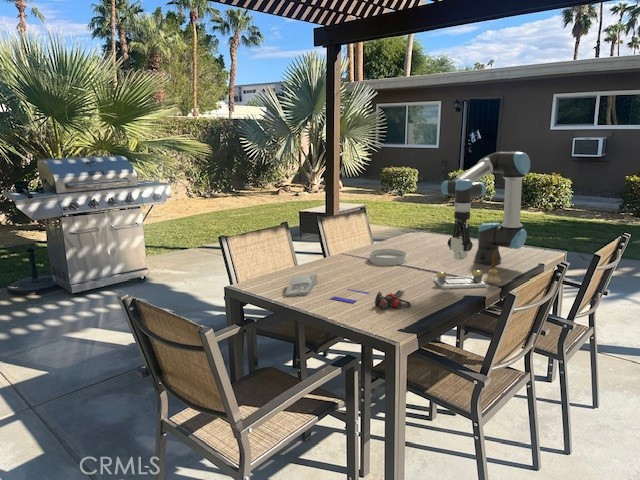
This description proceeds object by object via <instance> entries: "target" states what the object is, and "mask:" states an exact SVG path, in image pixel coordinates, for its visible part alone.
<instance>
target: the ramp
mask: <svg viewBox="0 0 640 480" xmlns="http://www.w3.org/2000/svg"><path fill="white" fill-rule="evenodd" d="M317 283H318V273H313V274H300V275H299V274H298V275H295V274H294V275H292V276H291V278H290V281H289V284H288V286H287V289H286V291H285V294H284V297H285V296H291V297H298V296H297V295H304V296H309V295H310V294H311V292H312V290H313V289H314V287H315V285H316V284H317ZM310 291H311V292H310ZM308 294H309V295H308Z"/></svg>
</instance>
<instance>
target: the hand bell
mask: <svg viewBox="0 0 640 480" xmlns="http://www.w3.org/2000/svg"><path fill="white" fill-rule="evenodd" d="M496 261H497V253H496V251H494V252H493V254H492V262H493V263H492V264H491V269H489V270H488V272H487V273H488V274H487V275H486V277H485V278H484V279H483V280H484V281H485V282H487V283H491V284H492V283H493V284H499V283H501V282H502V279H500V277H499V270H497V269H496V267H497V264H496Z"/></svg>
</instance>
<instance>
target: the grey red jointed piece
mask: <svg viewBox="0 0 640 480" xmlns="http://www.w3.org/2000/svg"><path fill="white" fill-rule="evenodd" d="M404 293H405V291H404V290H401V289H399V290H398V291H396V292H394V293H392V292H391V293H388V294H386V295H385V296H383V294H382V292H380V291H379V292H377V294H376V296H375V300H374V306H379V305H380V308H382V309H387V308H389V307H392V309H396V310H397V309H401V308H410V307H411V305H412V304H411V302H409V301H408V300H405V299H400V298H399V297H401V295H403V294H404ZM403 303H405V304H403Z"/></svg>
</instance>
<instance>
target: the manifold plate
mask: <svg viewBox="0 0 640 480" xmlns="http://www.w3.org/2000/svg"><path fill="white" fill-rule="evenodd" d="M483 275H484V271H483V270H482V269H481V270H473V271H472V275H470V276H450V277H447V273H446V271H437V272H436V277H434V278H433V281H434V282H435V284H437V285H438V286H439V287H440V289H443V290H448V289H450V288H452V289H469V288H470V289H471V287H472V289H473V287H475V288H486V286H487V284H486V283H485V282H484V281H482V279H483Z"/></svg>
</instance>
